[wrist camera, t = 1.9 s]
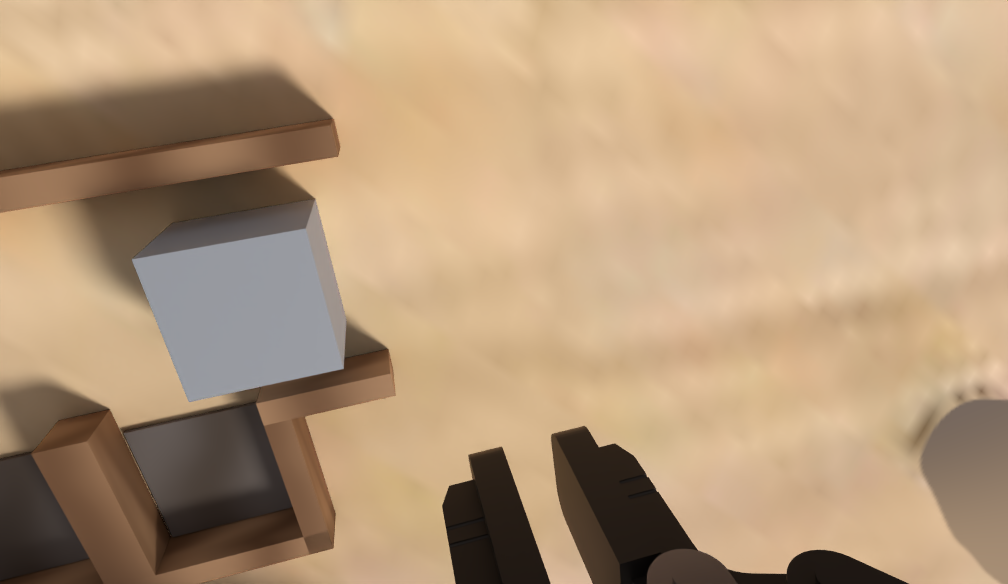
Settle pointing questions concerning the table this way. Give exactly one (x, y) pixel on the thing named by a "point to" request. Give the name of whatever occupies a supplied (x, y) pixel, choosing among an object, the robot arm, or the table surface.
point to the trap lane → (177, 425)
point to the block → (245, 298)
